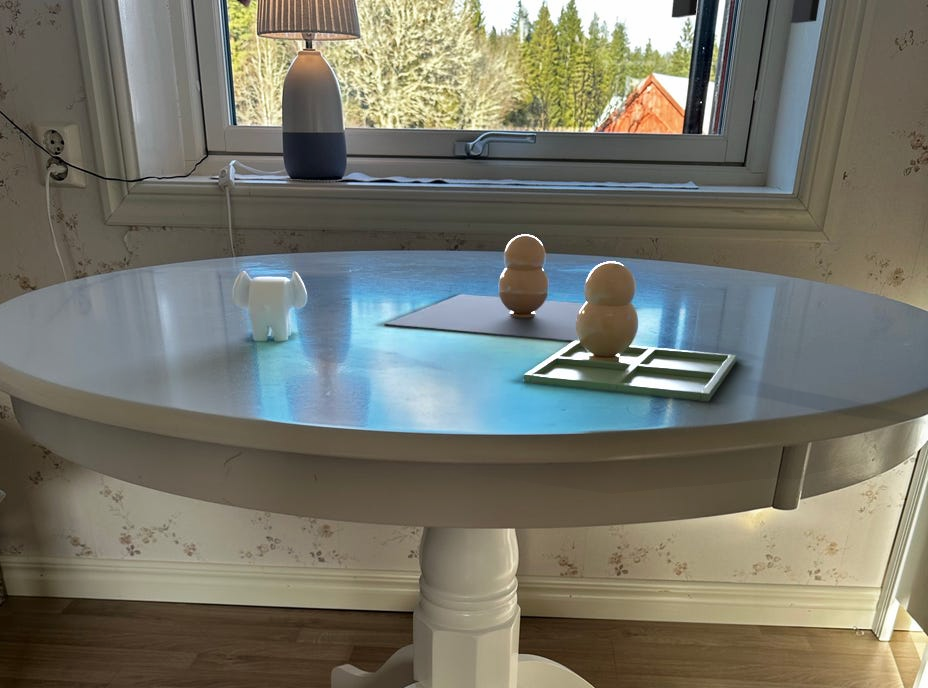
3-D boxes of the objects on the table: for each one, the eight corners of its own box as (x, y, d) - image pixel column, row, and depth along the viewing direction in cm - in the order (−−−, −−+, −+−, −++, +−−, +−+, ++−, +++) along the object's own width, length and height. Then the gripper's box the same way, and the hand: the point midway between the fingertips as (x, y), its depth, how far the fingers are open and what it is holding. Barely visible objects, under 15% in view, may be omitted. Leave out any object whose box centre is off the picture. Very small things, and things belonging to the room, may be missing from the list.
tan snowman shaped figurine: (553, 313, 99) (558, 233, 96) (538, 321, 95) (542, 238, 92) (507, 309, 101) (509, 231, 97) (489, 317, 97) (492, 236, 93)
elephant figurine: (314, 331, 93) (310, 266, 90) (305, 348, 86) (300, 278, 83) (244, 331, 92) (238, 265, 90) (229, 348, 85) (222, 278, 83)
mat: (631, 311, 103) (631, 306, 103) (580, 346, 87) (581, 341, 87) (460, 298, 110) (460, 294, 110) (384, 329, 94) (384, 323, 94)
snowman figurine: (640, 355, 83) (650, 260, 79) (626, 367, 78) (636, 267, 75) (582, 349, 84) (589, 256, 81) (565, 361, 80) (572, 263, 76)
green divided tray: (735, 365, 81) (736, 354, 81) (707, 406, 69) (709, 393, 69) (573, 350, 86) (574, 340, 85) (522, 386, 74) (523, 374, 74)
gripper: (867, -252, 86) (822, 27, 96) (629, -294, 77) (607, 17, 87) (933, -281, 80) (878, 21, 90) (683, -330, 71) (653, 9, 81)
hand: (744, 19), depth 89 cm, fingers open, 13 cm apart
